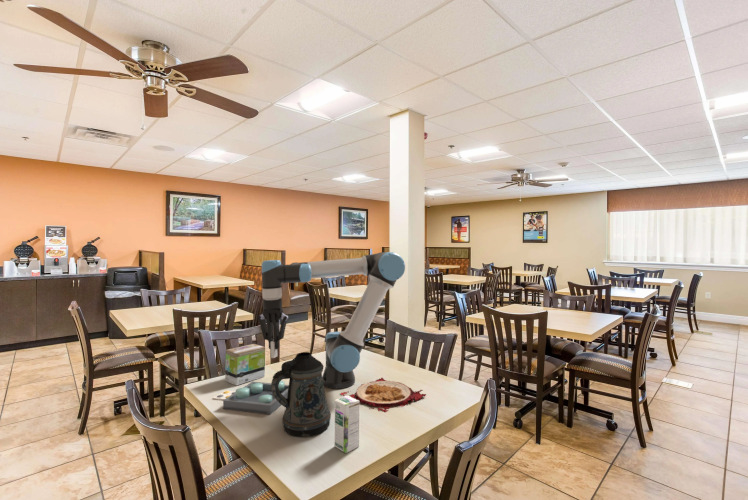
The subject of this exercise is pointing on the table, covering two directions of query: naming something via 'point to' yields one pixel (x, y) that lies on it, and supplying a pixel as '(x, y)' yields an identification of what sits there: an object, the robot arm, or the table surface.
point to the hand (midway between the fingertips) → (274, 356)
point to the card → (224, 395)
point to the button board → (255, 401)
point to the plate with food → (385, 394)
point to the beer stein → (303, 396)
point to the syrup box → (346, 424)
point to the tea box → (245, 364)
